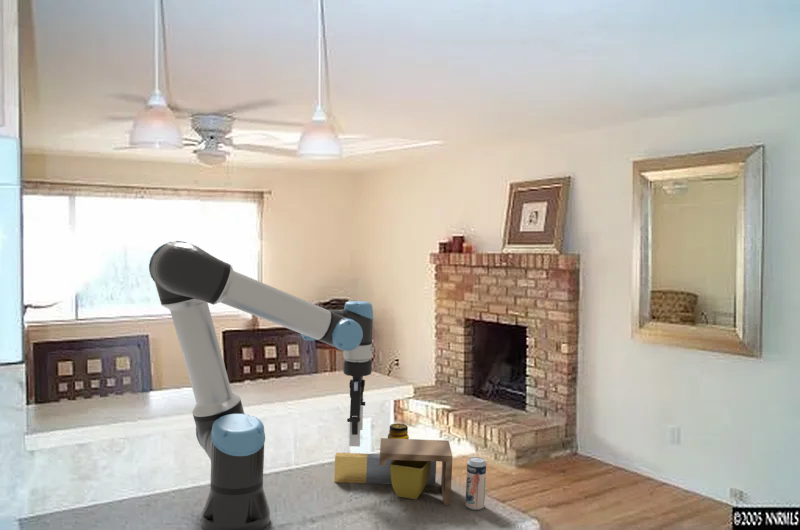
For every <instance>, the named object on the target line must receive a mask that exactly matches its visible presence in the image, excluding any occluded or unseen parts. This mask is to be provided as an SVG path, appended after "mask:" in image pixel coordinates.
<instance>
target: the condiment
mask: <svg viewBox="0 0 800 530" xmlns="http://www.w3.org/2000/svg"><path fill="white" fill-rule="evenodd" d="M388 429H389V431H388V434H387V438H391V439H410V438H409V434H408V433H409V432H408V430H409V426H408V425H407V424H405V423H399V422H398V423H397V422H395V423H392V424H390V425H389V428H388Z"/></svg>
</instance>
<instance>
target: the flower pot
mask: <svg viewBox="0 0 800 530" xmlns="http://www.w3.org/2000/svg"><path fill="white" fill-rule="evenodd" d="M430 466H431V461H413V460H394V461H393V462H392V463H391V464H390V471H391V482H392V484H391V486H392V488H393V490H394V492H395V494H396V496H397V497H399V498H404V499H405V498H406V499H411V500H417V499H419V497H420V495H421V494H422V493H423V491H424V490H425V488H426V486H427V485H426V483H427V481H428V477H429V472H430Z"/></svg>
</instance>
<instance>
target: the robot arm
mask: <svg viewBox="0 0 800 530" xmlns="http://www.w3.org/2000/svg"><path fill="white" fill-rule="evenodd" d="M148 271H149V275H150V277H151V279H152V281H153V282H154V284H155V287H156V292H157V294H158V298H159V301H160V305H161V306H162V307H164V308H166V309H168V310H169V311H170V315H171V319H172V322H173V325H174V328H175V332H176V336H177V339H178V343H179V346H180V350H181V354H182V357H183V359H184V364H185V369H186V371H187V374H188V378H189V382H190V385H191V388H192V392H193V395H194V399H195V403H196V404H195V406H194V407H193V409H192V411H191V413H192V416H193V420H194V424H195V435H196V436H195V437H196V439H197V442H198V443H199V446H200V447H201V448H202V449H203V450H204V451H205V453H206V454H207V457H208V458H209V460H210V488H209V492H208V496H207V498H206V500H205V501H206V502H205V504H204V506H203V510H202V513H201V528H202V529H203V530H264V529H265V528H266V527H267V526H268V525H269V524H270V523H271V510H270V506H269V503H268V500H267V496H266V493H265V489H264V467H265V466H264V464H265V461H264V460H265V459H264V458H265V442H266V433H265V426H264V422H263V421H261V420H260V419H259V418H258V417H256V416H253V415H249V414H246V413H245V411H244V406H243V403H242V401H241V397H240V395H237V394H235V393H234V392H233V391H232V388H231V383H230V380H229V376H228V372H227V369H226V365H225V362H224V358H223V354H222V351H221V347H220V343H219V341H218V340H219V339H218V336H217V332H216V329H215V326H214V325H215V324H214V322H213V318H212V314H211V310H210V306H209V304H211V305H217V304H219V303H221V304H224V305H226V306H229V307H230V308H234V309H236V310H239V311H240V312H241V311H242V312H244V313H246V314H250V315H251V316H255V317H257V318H260V319H262V320H265V321H267V322H271V323H273V324H275V325H278V326H280V327H283V328H286V329H289V330H291V331H294V332H297V333H299V334H300V336H301V338H302V340H304V341H312V342H315V341H318V342H321V343H324V344H327V345H329V346H332V347H335V349H337V350H340V351H343V358H344V359H343V374H344V375H345V376H351V377H352V379H350V380H349V385H348V386H349V398H350V404H349V405H350V407H349V408H350V410H349V418H347V420H346V422H347V423H349V435H348V438H349V441H348V443H349V444H348V447H361V431H363V427H364V425H363V421H364V419H363V417H364V415H363V413H364V407H365V406H366V401H364V391H365V386H366V380H365V379H364V377H367V376H370V375H371V374H372V373H373V371H372V370H373V369H372V367H373V365H372V363H373V362H372V358H373V353H372V352H373V351H375V347H374V346H373V324H374V323H373V322H374V312H373V311H374V310H373V304H372V303H371V302H368V301H363V300H350V301H349V300H348V301H345V303H344V307H343V309H337V310H336V309H334V310H333V309H331V310H328V309H326V308H324V307H321V306H319V305H317V304H315V303H312V302H310V301H307V300H305V299H303V298H300V297H297V296H295V295H293V294H290V293H288V292H285V291H283V290H280V289H278V288H276V287H274V286H271V285H269V284H266V283H263V282H261V281H259V280H257V279H254V278H252V277H249V276H247V275H245V274H242V273H240V272H238V271H235V270H234V269H233V266H232V264H231V263H228V262H225V261H223V260H222V259H219V258H217V257H215V256H214V255H212V254H210V253H209V252H207V251H205V250H204V249H202V248H201V247H199V246H197V245H194V244H193V243H188V242H185V241H181V240H174V241H169V242H166V243H164V244H162V245H160V246H158V248H157V249H156V250H154V252H153V254H152V255H151V256H150V260H149V264H148Z"/></svg>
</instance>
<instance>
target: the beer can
mask: <svg viewBox="0 0 800 530" xmlns="http://www.w3.org/2000/svg"><path fill="white" fill-rule="evenodd" d="M486 475H487V462H486V460H485V459H484V457H480V456H471V457H469V459H468V460H467V462H466V479H465V480H466V484H465V503H464V505H465V507H467V508H468V509H469V510H472V511H473V510H474V511H480V510H482V509H484V507H485V498H486V495H485V494H486V477H487V476H486Z"/></svg>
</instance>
